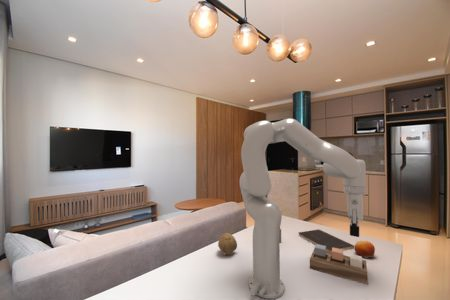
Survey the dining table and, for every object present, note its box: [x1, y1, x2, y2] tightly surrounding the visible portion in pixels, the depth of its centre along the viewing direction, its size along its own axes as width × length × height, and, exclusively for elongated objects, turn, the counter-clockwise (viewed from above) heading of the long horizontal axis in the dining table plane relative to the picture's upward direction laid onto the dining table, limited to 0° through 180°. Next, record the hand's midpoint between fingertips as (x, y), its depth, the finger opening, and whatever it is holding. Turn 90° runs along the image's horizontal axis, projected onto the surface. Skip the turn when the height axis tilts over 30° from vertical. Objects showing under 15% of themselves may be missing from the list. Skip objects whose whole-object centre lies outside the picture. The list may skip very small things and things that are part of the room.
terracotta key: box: [332, 247, 344, 261], centre depth 85 cm, size 4×4×3 cm
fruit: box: [353, 240, 376, 259], centre depth 95 cm, size 8×8×8 cm
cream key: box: [349, 253, 363, 269], centre depth 81 cm, size 4×4×3 cm
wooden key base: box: [309, 248, 369, 285], centre depth 84 cm, size 12×20×4 cm, turn 57°
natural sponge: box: [217, 232, 238, 256], centre depth 97 cm, size 9×9×10 cm
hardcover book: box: [297, 229, 355, 252], centre depth 111 cm, size 16×23×2 cm
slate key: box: [314, 244, 326, 257], centre depth 88 cm, size 4×4×3 cm
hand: (354, 235), depth 81 cm, fingers closed
